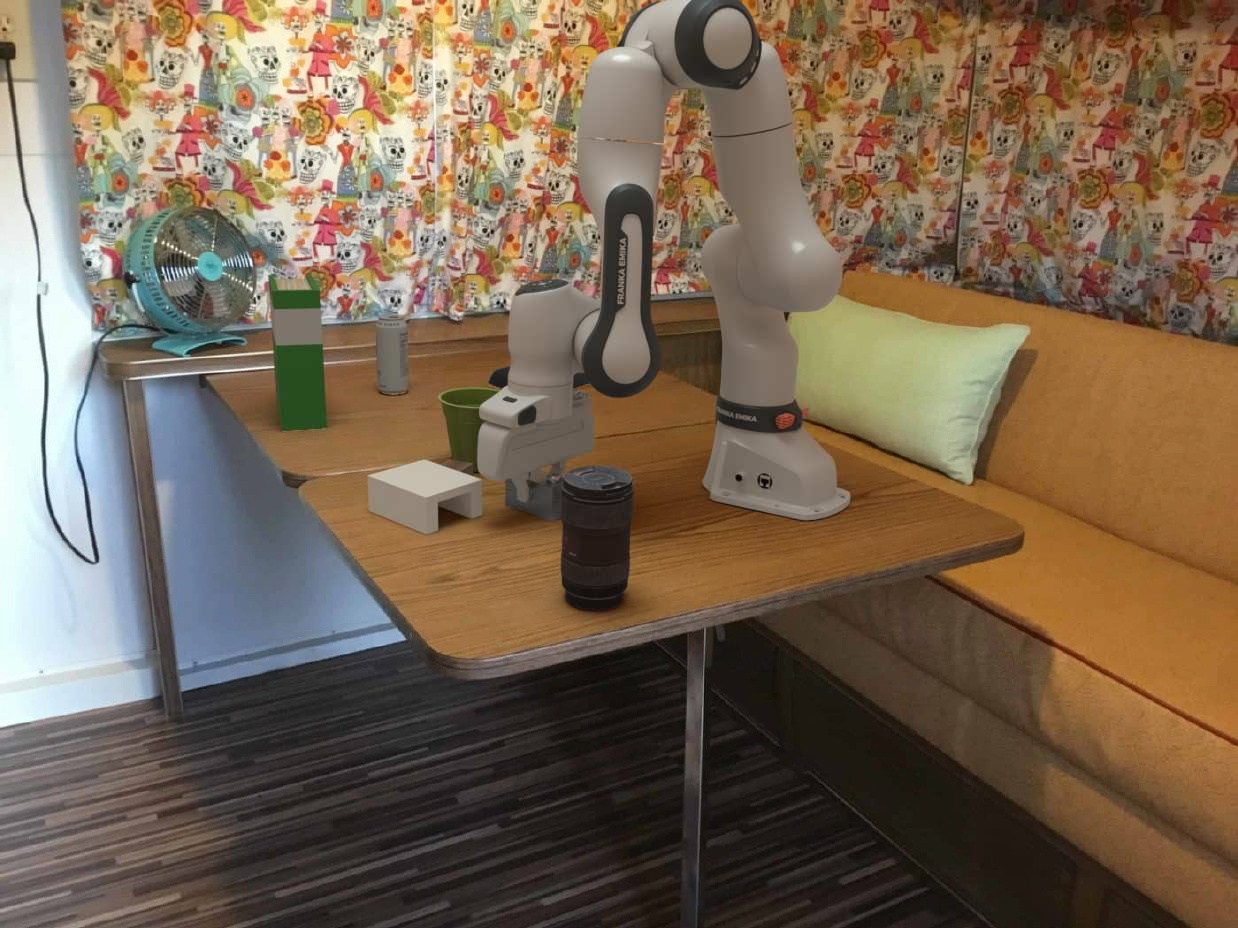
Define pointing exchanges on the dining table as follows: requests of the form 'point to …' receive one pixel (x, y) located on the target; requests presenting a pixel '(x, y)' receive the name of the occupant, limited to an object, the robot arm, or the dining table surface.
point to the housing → (538, 495)
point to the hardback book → (298, 353)
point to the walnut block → (459, 466)
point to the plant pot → (464, 420)
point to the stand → (423, 494)
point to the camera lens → (596, 536)
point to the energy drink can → (392, 354)
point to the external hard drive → (501, 375)
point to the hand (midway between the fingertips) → (538, 495)
